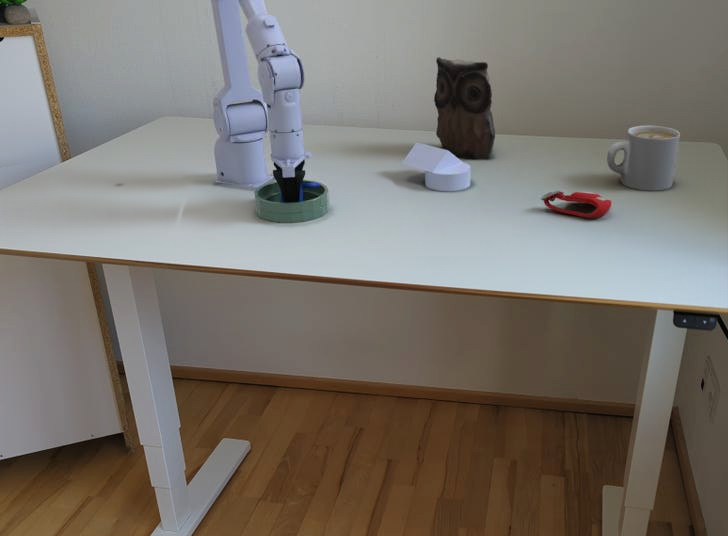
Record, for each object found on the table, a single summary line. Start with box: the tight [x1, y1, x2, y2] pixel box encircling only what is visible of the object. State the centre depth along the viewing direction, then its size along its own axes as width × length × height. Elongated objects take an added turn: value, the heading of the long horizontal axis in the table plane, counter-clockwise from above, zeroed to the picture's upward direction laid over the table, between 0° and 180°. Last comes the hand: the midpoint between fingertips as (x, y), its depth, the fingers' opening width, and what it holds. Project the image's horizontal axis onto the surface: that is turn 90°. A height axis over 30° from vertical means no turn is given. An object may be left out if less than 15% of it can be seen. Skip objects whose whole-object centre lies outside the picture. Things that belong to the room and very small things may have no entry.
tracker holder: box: [540, 189, 612, 219], centre depth 144 cm, size 12×4×10 cm
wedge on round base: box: [401, 141, 472, 192], centre depth 158 cm, size 9×7×13 cm
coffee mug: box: [606, 125, 681, 192], centre depth 156 cm, size 13×10×10 cm
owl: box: [433, 56, 496, 160], centre depth 172 cm, size 13×13×20 cm
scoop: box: [280, 181, 320, 203], centre depth 144 cm, size 7×4×5 cm, turn 98°
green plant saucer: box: [253, 179, 330, 224], centre depth 145 cm, size 13×13×4 cm
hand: (292, 203), depth 145 cm, fingers closed on scoop, 4 cm apart
